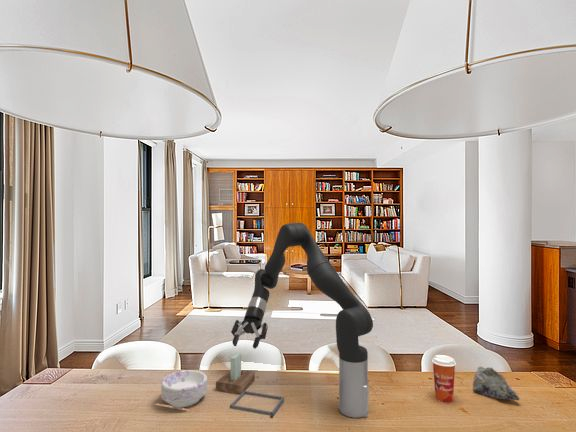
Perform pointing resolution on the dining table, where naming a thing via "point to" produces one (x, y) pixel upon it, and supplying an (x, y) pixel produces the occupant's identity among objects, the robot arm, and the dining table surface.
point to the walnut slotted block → (235, 382)
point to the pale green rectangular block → (235, 366)
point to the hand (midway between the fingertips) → (244, 346)
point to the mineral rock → (492, 384)
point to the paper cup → (444, 377)
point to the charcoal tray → (258, 409)
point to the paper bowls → (184, 388)
